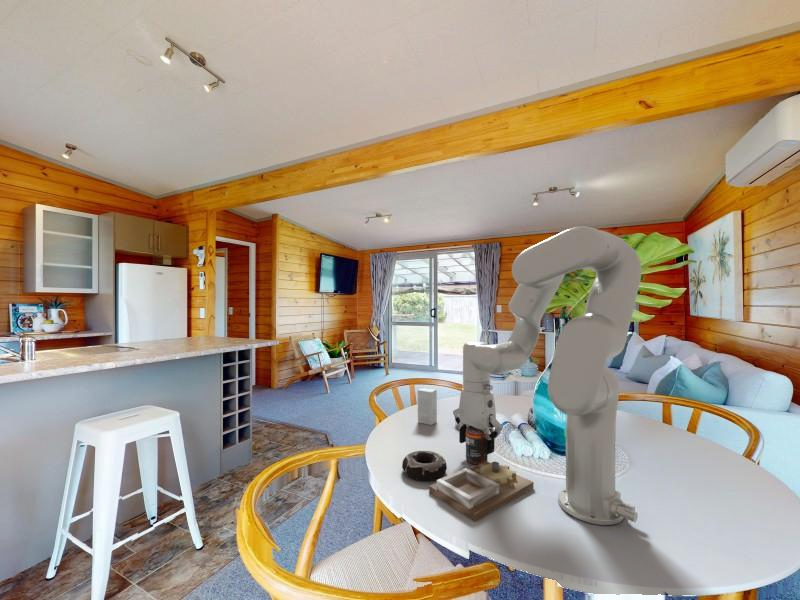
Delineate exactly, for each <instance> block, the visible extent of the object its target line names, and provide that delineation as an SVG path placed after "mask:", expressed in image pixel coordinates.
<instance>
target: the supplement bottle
mask: <svg viewBox="0 0 800 600" xmlns="http://www.w3.org/2000/svg"><path fill="white" fill-rule="evenodd" d="M485 439H487V438H486V436H485V434H484V432H483V430H480V429H477V428H475V427H473V426H470V425H469V427H467V429H466V442H465V459H466V461H467V462H468V463H469V464H472V465H474V466H477V465H479V464H481V463H484V462H486V461H488V456H489V455H487V454H485Z"/></svg>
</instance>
